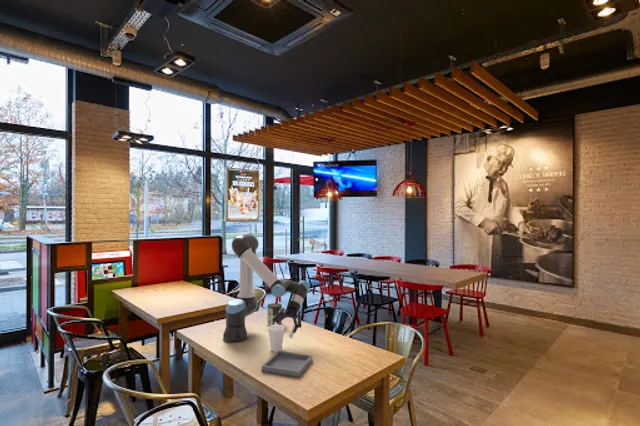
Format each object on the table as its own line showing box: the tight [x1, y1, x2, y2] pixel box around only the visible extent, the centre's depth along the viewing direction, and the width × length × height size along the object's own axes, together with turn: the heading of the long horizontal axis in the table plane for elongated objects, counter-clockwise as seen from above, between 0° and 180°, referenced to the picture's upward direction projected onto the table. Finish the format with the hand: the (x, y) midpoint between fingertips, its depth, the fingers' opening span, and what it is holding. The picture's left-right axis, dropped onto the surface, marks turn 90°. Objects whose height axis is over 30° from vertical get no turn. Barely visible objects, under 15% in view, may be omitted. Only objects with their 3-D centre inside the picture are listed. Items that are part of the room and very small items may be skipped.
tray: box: [261, 350, 313, 379], centre depth 181 cm, size 20×20×3 cm
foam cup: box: [267, 325, 286, 353], centre depth 203 cm, size 10×9×13 cm
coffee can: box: [266, 302, 283, 327], centre depth 247 cm, size 10×10×14 cm
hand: (280, 335), depth 204 cm, fingers open, 13 cm apart
